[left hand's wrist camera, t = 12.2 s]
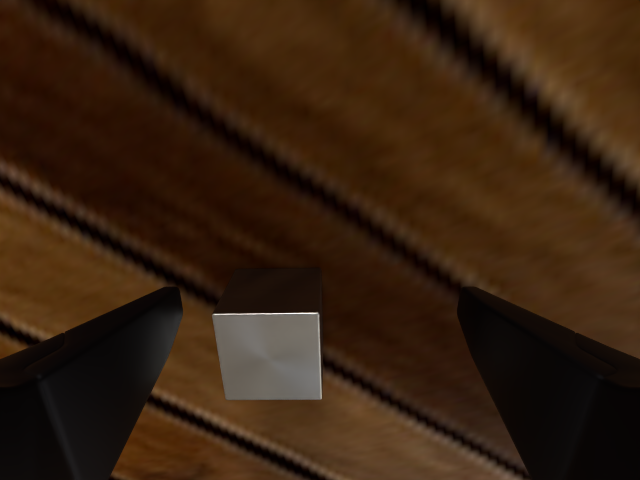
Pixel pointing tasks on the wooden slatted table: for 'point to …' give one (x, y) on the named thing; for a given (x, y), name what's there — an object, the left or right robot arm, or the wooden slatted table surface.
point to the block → (271, 334)
